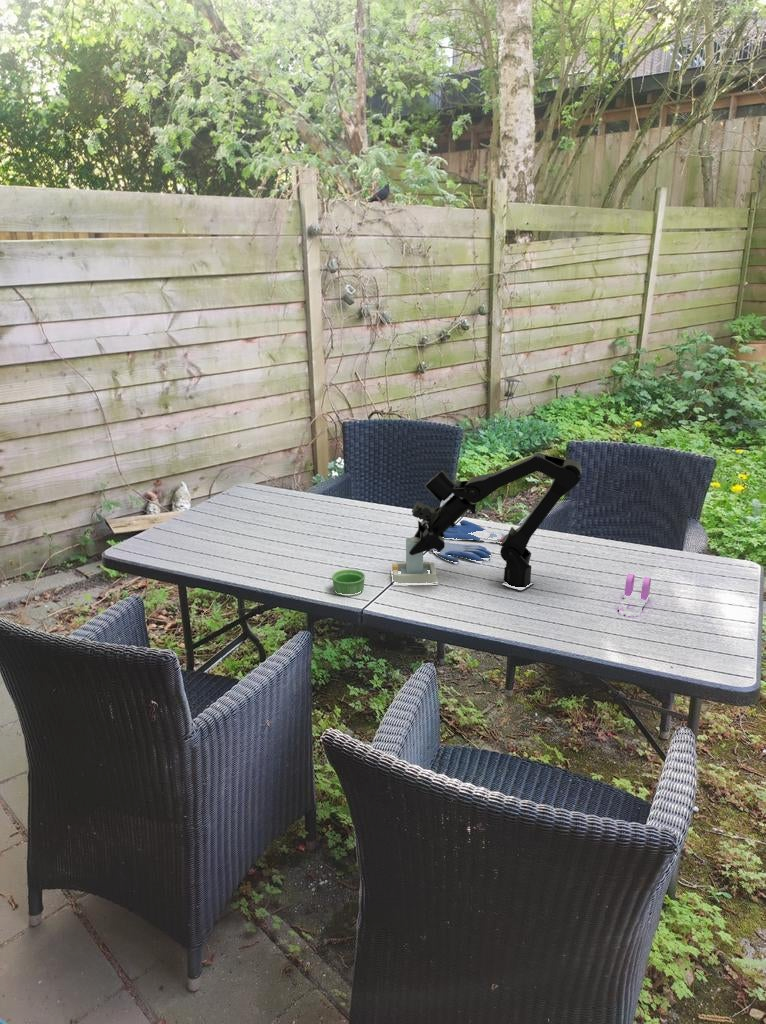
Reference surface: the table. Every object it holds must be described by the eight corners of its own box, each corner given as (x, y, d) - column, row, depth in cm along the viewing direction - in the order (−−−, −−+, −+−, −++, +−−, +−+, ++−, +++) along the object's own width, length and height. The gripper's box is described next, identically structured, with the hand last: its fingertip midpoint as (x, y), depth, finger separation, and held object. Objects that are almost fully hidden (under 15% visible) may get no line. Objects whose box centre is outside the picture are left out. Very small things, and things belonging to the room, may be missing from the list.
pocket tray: (435, 570, 206) (435, 557, 204) (438, 585, 196) (439, 572, 195) (390, 571, 205) (390, 558, 204) (391, 586, 196) (391, 573, 194)
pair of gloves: (480, 571, 206) (481, 560, 205) (402, 555, 218) (402, 544, 217) (516, 536, 233) (517, 526, 232) (445, 524, 244) (445, 514, 243)
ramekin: (328, 586, 196) (327, 572, 195) (359, 581, 199) (358, 567, 198) (337, 600, 188) (337, 585, 187) (369, 594, 191) (369, 579, 190)
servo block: (426, 570, 202) (427, 535, 199) (428, 577, 198) (428, 541, 195) (400, 571, 202) (400, 535, 199) (401, 577, 198) (401, 541, 194)
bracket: (626, 595, 191) (629, 571, 188) (648, 599, 188) (651, 575, 186) (615, 614, 180) (618, 589, 178) (637, 619, 177) (641, 594, 175)
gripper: (426, 483, 201) (387, 520, 205) (432, 504, 184) (390, 544, 187) (453, 509, 204) (414, 545, 207) (462, 532, 187) (420, 571, 190)
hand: (409, 550), depth 198 cm, fingers closed on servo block, 4 cm apart
